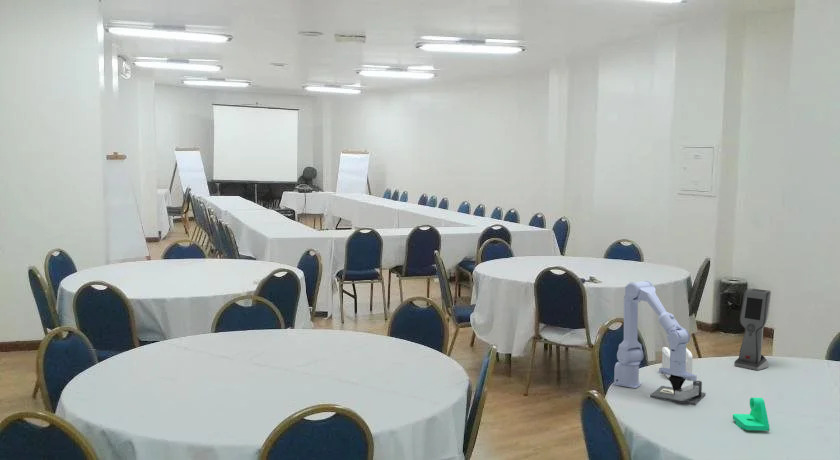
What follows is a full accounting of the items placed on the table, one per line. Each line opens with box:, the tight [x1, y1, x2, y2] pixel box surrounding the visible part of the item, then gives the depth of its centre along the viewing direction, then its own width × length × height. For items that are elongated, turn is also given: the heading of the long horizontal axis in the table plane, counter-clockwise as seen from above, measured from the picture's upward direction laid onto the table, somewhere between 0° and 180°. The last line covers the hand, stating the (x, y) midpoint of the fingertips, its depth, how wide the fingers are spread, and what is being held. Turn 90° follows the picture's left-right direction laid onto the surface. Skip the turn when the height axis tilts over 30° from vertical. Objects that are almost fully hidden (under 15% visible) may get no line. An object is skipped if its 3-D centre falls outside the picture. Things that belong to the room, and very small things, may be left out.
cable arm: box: [675, 380, 703, 401], centre depth 265 cm, size 16×3×5 cm, turn 130°
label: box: [660, 388, 674, 394], centre depth 274 cm, size 5×5×1 cm
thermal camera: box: [733, 288, 772, 372], centre depth 315 cm, size 12×13×35 cm
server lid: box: [649, 385, 706, 406], centre depth 271 cm, size 17×16×1 cm
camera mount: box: [732, 397, 770, 432], centre depth 236 cm, size 12×8×10 cm, turn 177°
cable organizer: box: [661, 346, 694, 379], centre depth 299 cm, size 15×11×12 cm
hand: (676, 395), depth 265 cm, fingers closed
